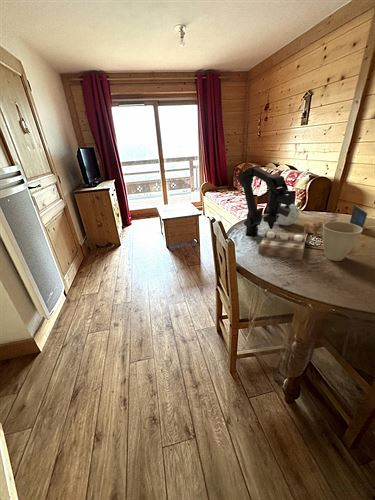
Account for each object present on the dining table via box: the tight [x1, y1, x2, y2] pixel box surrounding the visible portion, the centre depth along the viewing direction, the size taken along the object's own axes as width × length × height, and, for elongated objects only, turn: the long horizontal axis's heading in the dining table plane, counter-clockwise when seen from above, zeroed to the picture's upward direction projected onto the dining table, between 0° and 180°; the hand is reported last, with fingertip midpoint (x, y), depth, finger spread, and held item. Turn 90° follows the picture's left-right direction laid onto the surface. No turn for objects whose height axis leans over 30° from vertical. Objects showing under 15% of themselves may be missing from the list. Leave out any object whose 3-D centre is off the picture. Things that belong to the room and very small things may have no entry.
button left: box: [266, 231, 276, 239], centre depth 122 cm, size 4×4×4 cm
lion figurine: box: [299, 221, 326, 237], centre depth 130 cm, size 15×5×9 cm, turn 34°
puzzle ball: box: [276, 203, 300, 227], centre depth 145 cm, size 15×15×15 cm
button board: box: [257, 230, 307, 261], centre depth 117 cm, size 21×22×5 cm
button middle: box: [280, 232, 289, 240], centre depth 118 cm, size 4×4×4 cm
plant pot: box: [322, 221, 363, 262], centre depth 101 cm, size 15×15×16 cm
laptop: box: [349, 204, 368, 234], centre depth 132 cm, size 18×12×13 cm
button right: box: [293, 234, 303, 242], centre depth 115 cm, size 4×4×4 cm
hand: (271, 229), depth 120 cm, fingers closed
